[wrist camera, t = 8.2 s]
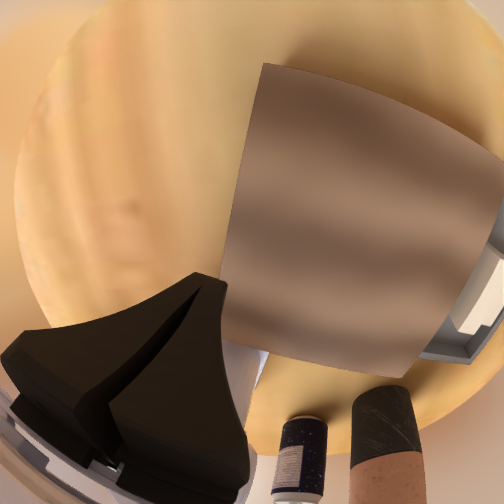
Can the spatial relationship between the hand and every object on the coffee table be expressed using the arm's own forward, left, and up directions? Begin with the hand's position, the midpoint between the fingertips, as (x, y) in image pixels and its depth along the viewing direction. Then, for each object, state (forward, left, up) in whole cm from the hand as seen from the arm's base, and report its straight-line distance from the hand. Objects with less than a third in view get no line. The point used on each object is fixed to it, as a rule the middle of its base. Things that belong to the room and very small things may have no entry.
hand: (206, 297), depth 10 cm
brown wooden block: (+1, -7, -10) cm, 12 cm away
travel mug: (-17, -19, -10) cm, 28 cm away
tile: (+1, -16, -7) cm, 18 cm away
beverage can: (-24, -12, -10) cm, 29 cm away
